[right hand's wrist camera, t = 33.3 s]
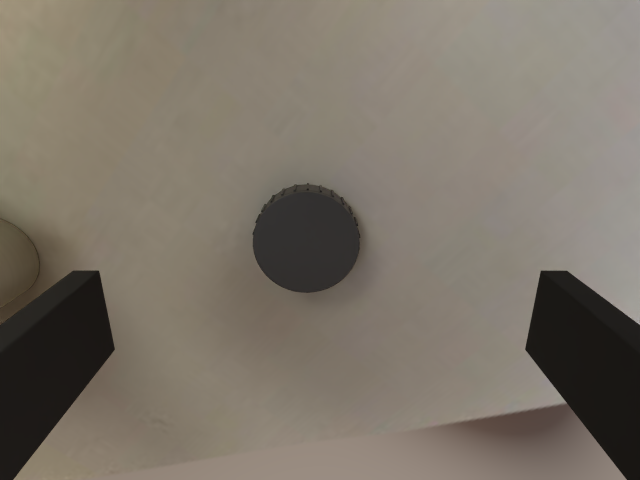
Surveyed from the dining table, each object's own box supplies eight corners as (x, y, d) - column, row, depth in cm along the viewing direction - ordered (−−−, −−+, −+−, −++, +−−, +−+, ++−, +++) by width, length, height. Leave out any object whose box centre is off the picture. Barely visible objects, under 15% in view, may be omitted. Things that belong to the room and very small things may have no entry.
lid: (317, 296, 24) (318, 312, 22) (236, 243, 23) (230, 255, 21) (377, 223, 22) (383, 233, 21) (294, 162, 21) (293, 167, 20)
